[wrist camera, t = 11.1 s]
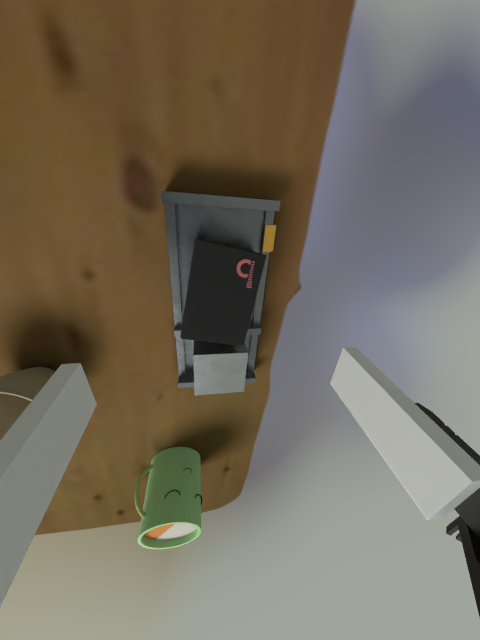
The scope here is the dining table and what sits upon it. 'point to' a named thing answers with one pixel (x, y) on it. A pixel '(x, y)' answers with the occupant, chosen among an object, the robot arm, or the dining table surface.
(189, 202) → the dark gray tray
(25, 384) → the flower pot
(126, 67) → the dining table surface
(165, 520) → the mug
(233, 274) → the electronic device
